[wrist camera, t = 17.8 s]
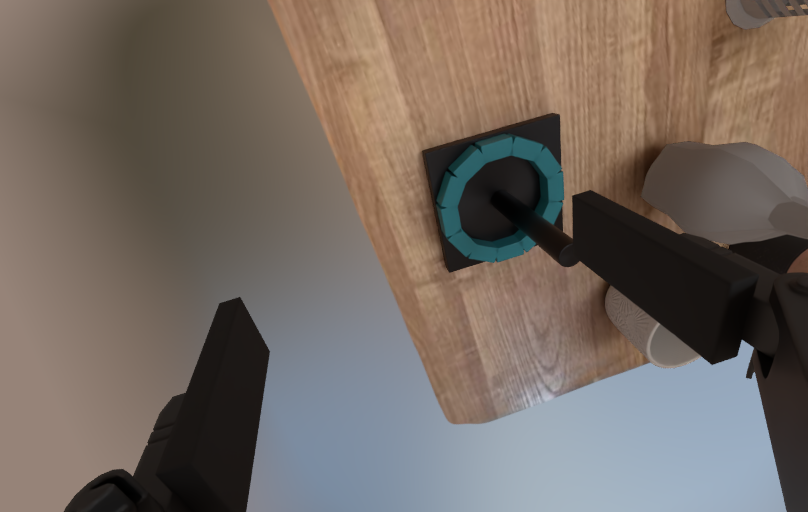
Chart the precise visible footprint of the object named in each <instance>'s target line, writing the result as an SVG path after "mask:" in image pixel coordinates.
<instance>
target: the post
mask: <svg viewBox="0 0 808 512" xmlns="http://www.w3.org/2000/svg"><path fill="white" fill-rule="evenodd" d="M502 134H506V135H508V134H512V135H515V136H519V137H522V138H526V139H529V140H533V141H536V142H538V143H541V144H543V146H545V147H547V148H548V150H549V151H550V152H551V154H552V155H553V157H554V158H555V159H556V161H557V162H558V163H559V165H560V166H561V143H560V115H559V114H555V113H551V114H547V115H544V116H541V117H537V118H534V119H530V120H527V121H523V122H520V123H516V124H513V125H509V126H506V127H502V128H499V129H496V130H492V131H489V132H485V133H482V134H478V135H475V136H471V137H468V138H464V139H461V140H457V141H454V142H451V143H447V144H444V145H440V146H437V147H433V148H430V149H426V150H423V151H422V154H423V159H424V164H425V168H426V173H427V178H428V183H429V188H430V193H431V197H432V202H433V207H434V212H435V217H436V222H437V226H438V231H439V236H440V241H441V246H442V251H443V255H444V260H445V265H446V268H447V270H448V271H449V273H450V272H453V271H457V270H460V269H463V268H466V267H469V266H473V265H476V264H479V263H482V262H485V261H481V260H475V259H469V258H468V256H467V257H465V256H464V255H463V254H462V253H461V252H460V251H459V250H458V249H457V248H456V247H455V246H454V245H453V244H452V243H451V242H450V241H448V239H447V238H446V237H445V235H444V234H443V232H442V230H441V225H440V221H439V216H438V211H437V207H436V204H438V202H437V201H436V200H437V197H438V194H439V191H440V188H441V185H442V182H443V178H444V175H445V172H446V171H447V172H451V171H450V170H449V169H448V167H449V166H450V165H451V164H452V163H453V162H454V161H455V160H456V159H457V158H458V157H459V156H460V155H461V154H462V153H463V152H464V151H465V150H466V149H467V148H468V147H469V146H470V145H473V146H474V147H475V142H479V141H482V140H485V139H488V138H492V137H495V136H498V135H502ZM451 173H452V172H451ZM540 197H541V193H540V179H539V174H538V172H537V171H536V170H535V169H534V167H533V166H532V165H531V163H530V162H529V161H528V160H526V159H522V158H519V157H515V156H507V157H504V158H501V159H498V160H494V161H491V162H488V163H486V164H485V165H484V166H483V167H482V168H481V169H480V170H479V171H477V172H476V173H475V174H474V175H473V176H472V177H471V178H470V179H469V180H468V181H467V182H466V184H465V187H464V190H463V193H462V196H461V199H460V201H459V204H458V212H459V217H460V223H461V228H462V229H463V230H464V231H465V232H466V233H467V234H468V235H469V236H470V237H471V238H474V239H479V240H484V241H490V242H493V241H496V240H499V239H502V238H505V237H509V236H512V235H514V234H515V233H516V232H517V231H518V230H519V229H520V230H521V231H522V232H523V233H524V234H526V235H527V236H528V237H529V238H530V239H531V240H533V241H534V242H535V243H536V245H535V246H537V245H538V246H539V247H541V248H542V249H543V250H544V251H545V252H546V253H548V254H549V255H550V256H551V257H552V258H553V259H554V260H556V261H557V262H558V263H559V264H560V265H562V266H564V267H571V266H574V265H575V264H577V263H578V262H579V261H580V260H578V259H577V258H576V257H574V256H573V239H572V238H571V237H569V236H568V235H567V234H565V233H564V232H563V216H562V208H561V210H560V212H559V214H558V216H557V218H556V220H555V223H554V225H553V224H551V223H550V222H549V221H547V220H546V219H544V218H543V217H542V216H540V215H539V214H538V213H536V212H535V209H536V206H537V204H538V202H539V200H540ZM561 202H562V200H561ZM523 250H524V249H523Z"/></svg>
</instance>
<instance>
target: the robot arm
mask: <svg viewBox="0 0 808 512" xmlns="http://www.w3.org/2000/svg"><path fill="white" fill-rule="evenodd" d="M572 203H573V256H574V257H576V258H577V259H578V260H580V261H581V262H582V263H583V264H585V265H586V266H587V267H588V268H590V269H591V270H592V271H593V272H595V273H596V274H597V275H599V276H600V277H601V278H602V279H604V280H605V281H606V282H607V283H609V284H610V285H611V286H613V287H614V288H615V289H616V290H618V291H619V292H620V293H621V294H623V295H624V296H625V297H627V298H628V299H629V300H630V301H632V302H633V303H634V304H635V305H637V306H638V307H639V308H640V309H642V310H643V311H644V312H646V313H647V314H648V315H649V316H651V317H652V318H653V319H654V320H656V321H657V322H658V323H660V324H661V325H662V326H663V327H665V328H666V329H667V330H668V331H670V332H671V333H672V334H674V335H675V336H676V337H677V338H679V339H680V340H681V341H682V342H684V343H685V344H686V345H687V346H689V347H690V348H691V349H693V350H694V351H695V352H696V353H698V354H699V355H700V356H701V357H703V358H704V359H705V360H707V361H708V362H709V363H710V364H712V365H713V364H716V363H719V362H722V361H724V360H728V359H731V358H734V357H736V356H737V355H738V351H739V347H740V344H741V340H744V341H745V342H747V343H748V344H750V345H751V346H753V347H754V350H753V353H752V357H751V360H750V363H749V367H748V370H747V375H746V378H750V379H751V378H752V375H753V373H754V372H755V374H756V378H757V383H758V387H759V392H760V395H761V400H762V405H763V409H764V414H765V418H766V422H767V427H768V430H769V435H770V440H771V444H772V449H773V453H774V457H775V462H776V466H777V471H778V475H779V479H780V484H781V488H782V493H783V496H784V501H785V506H786V510H787V512H808V273H804V272H794V273H786V274H782V275H781V274H779V273H776V272H774V271H772V270H770V269H768V268H766V267H764V266H762V265H760V264H758V263H756V262H753V261H751V260H749V259H747V258H745V257H743V256H741V255H739V254H737V253H732V251H730V250H728V249H726V248H724V247H720V246H719V245H718V244H716V243H714V242H712V241H709V240H707V239H705V238H703V237H699V236H695V235H691V234H686V233H682V234H677V233H675V232H673V231H671V230H669V229H667V228H665V227H663V226H661V225H659V224H657V223H655V222H653V221H651V220H649V219H647V218H645V217H643V216H641V215H639V214H637V213H635V212H633V211H631V210H629V209H627V208H625V207H623V206H621V205H619V204H617V203H615V202H613V201H611V200H609V199H607V198H605V197H603V196H601V195H599V194H597V193H595V192H593V191H591V190H589V191H586V192H583V193H579V194H576V195H573V196H572ZM269 353H270V351H269V349H268V347H267V346H266V344H265V342H264V340H263V338H262V336H261V334H260V333H259V331H258V329H257V327H256V325H255V323H254V322H253V320H252V318H251V316H250V314H249V312H248V311H247V309H246V307H245V305H244V303H243V301H242V300H241V298H240V297H239V298H236V299H232V300H229V301H226V302H222V303H220V304H219V306H218V309H217V311H216V314H215V317H214V319H213V322H212V325H211V327H210V330H209V333H208V335H207V338H206V341H205V343H204V346H203V349H202V351H201V354H200V357H199V360H198V362H197V365H196V367H195V370H194V373H193V375H192V378H191V381H190V383H189V386H188V389H187V391H186V393H184V394H180V395H177V396H174V397H172V399H171V400H170V401H169V402H168V404H167V405H166V406H165V407H164V409H163V410H162V411H161V412H160V414H159V417H158V419H157V421H156V424H155V426H154V428H153V430H154V432H152V433H151V435H150V438H149V440H148V445H147V446H146V447H145V450H144V452H143V454H142V456H141V459H140V461H139V463H138V466H137V468H136V471H135V473H134V475H133V476H132V475H131V474H129V473H128V472H127V471H125V470H123V469H117V470H112V471H109V472H107V473H104V474H102V475H100V476H98V477H97V478H95V479H94V480H92V481H91V482H89V483H88V484H87V485H86V486H85V487H84V488H83V489H82V490H80V491H79V492H78V493H77V494H76V495H75V496H74V498H73V499H72V500H71V502H70V503H69V504H68V506H67V507H66V508H65V511H64V512H246V509H247V502H248V495H249V489H250V482H251V475H252V467H253V462H254V455H255V448H256V441H257V434H258V428H259V421H260V414H261V407H262V400H263V393H264V387H265V380H266V373H267V367H268V360H269Z"/></svg>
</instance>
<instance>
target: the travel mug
mask: <svg viewBox="0 0 808 512" xmlns="http://www.w3.org/2000/svg"><path fill="white" fill-rule="evenodd" d="M729 250H730V251H732V253H737V254H739V255H741V256H743V257H745V258H747V259H749V260H751V261H753V262H756V263H758V264H760V265H762V266H764V267H766V268H768V269H770V270H772V271H774V272H776V273H779V274H781V275H782V274H786V273H794V272H804V273H808V239H804V238H800V237H796V236H792V235H788V234H786V235H782V236H778V237H774V238H771V239H767V240H763V241H755V242H742V243H736V244H730V248H729Z"/></svg>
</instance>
